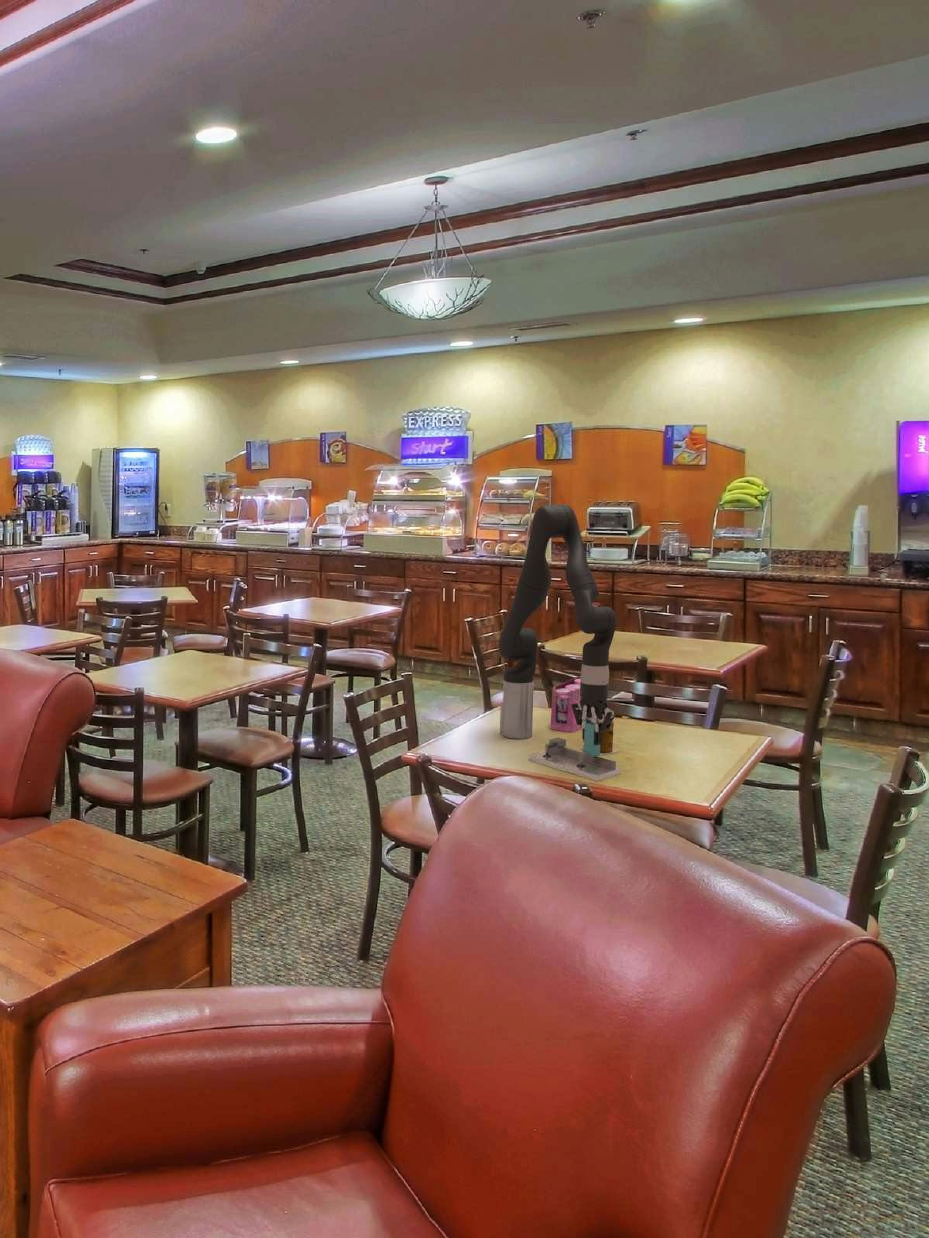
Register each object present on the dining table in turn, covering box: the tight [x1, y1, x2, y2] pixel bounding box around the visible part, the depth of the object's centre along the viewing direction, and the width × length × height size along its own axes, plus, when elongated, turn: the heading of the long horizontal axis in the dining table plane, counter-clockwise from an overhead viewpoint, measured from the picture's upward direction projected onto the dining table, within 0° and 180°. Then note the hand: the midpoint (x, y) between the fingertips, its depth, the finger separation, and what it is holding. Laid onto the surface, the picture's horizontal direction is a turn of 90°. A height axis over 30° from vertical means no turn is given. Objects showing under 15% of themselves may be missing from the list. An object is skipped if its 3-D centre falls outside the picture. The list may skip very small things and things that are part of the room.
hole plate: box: [528, 736, 622, 782], centre depth 242 cm, size 24×10×6 cm, turn 44°
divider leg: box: [579, 721, 601, 765], centre depth 239 cm, size 3×7×11 cm, turn 134°
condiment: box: [581, 713, 619, 756], centre depth 258 cm, size 7×8×12 cm
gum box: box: [550, 675, 593, 733], centre depth 288 cm, size 24×8×14 cm, turn 151°
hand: (592, 742), depth 240 cm, fingers closed on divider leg, 3 cm apart
